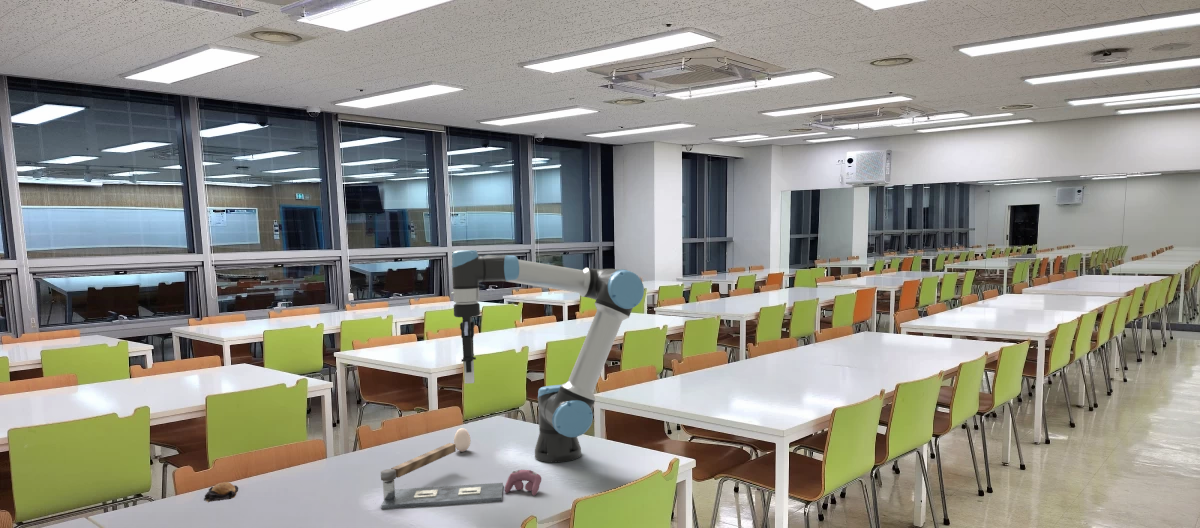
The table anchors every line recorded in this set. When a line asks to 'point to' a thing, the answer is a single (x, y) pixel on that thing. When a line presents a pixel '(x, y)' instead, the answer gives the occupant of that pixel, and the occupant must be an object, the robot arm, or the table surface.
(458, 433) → the egg
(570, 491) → the table surface
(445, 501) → the board
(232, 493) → the toy turtle
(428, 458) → the swing bar
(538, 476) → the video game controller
